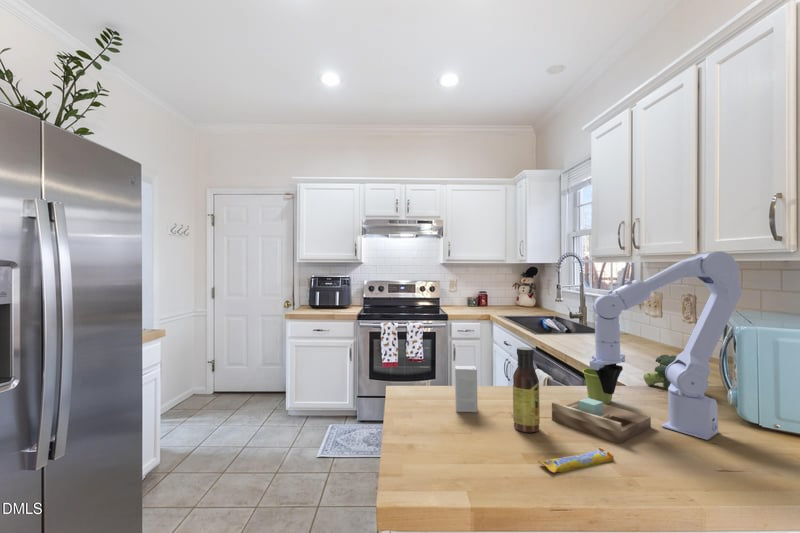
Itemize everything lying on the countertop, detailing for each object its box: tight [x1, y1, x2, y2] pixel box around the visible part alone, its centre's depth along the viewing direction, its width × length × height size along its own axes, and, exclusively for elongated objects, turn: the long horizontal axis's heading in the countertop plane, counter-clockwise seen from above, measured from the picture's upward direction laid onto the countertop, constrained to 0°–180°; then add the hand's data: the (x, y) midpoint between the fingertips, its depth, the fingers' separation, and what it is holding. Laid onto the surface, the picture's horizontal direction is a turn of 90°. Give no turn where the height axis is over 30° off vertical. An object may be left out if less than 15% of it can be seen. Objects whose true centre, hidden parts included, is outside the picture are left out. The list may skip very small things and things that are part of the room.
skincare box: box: [454, 365, 479, 413], centre depth 109 cm, size 6×4×12 cm
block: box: [578, 397, 603, 416], centre depth 96 cm, size 4×4×4 cm
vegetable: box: [643, 354, 677, 391], centre depth 127 cm, size 12×13×15 cm
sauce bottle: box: [512, 346, 541, 433], centre depth 96 cm, size 6×6×20 cm
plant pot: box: [582, 367, 613, 405], centre depth 116 cm, size 9×9×9 cm
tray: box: [551, 400, 652, 445], centre depth 99 cm, size 17×16×4 cm
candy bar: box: [537, 447, 615, 473], centre depth 79 cm, size 17×4×2 cm, turn 109°
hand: (608, 393), depth 101 cm, fingers closed
